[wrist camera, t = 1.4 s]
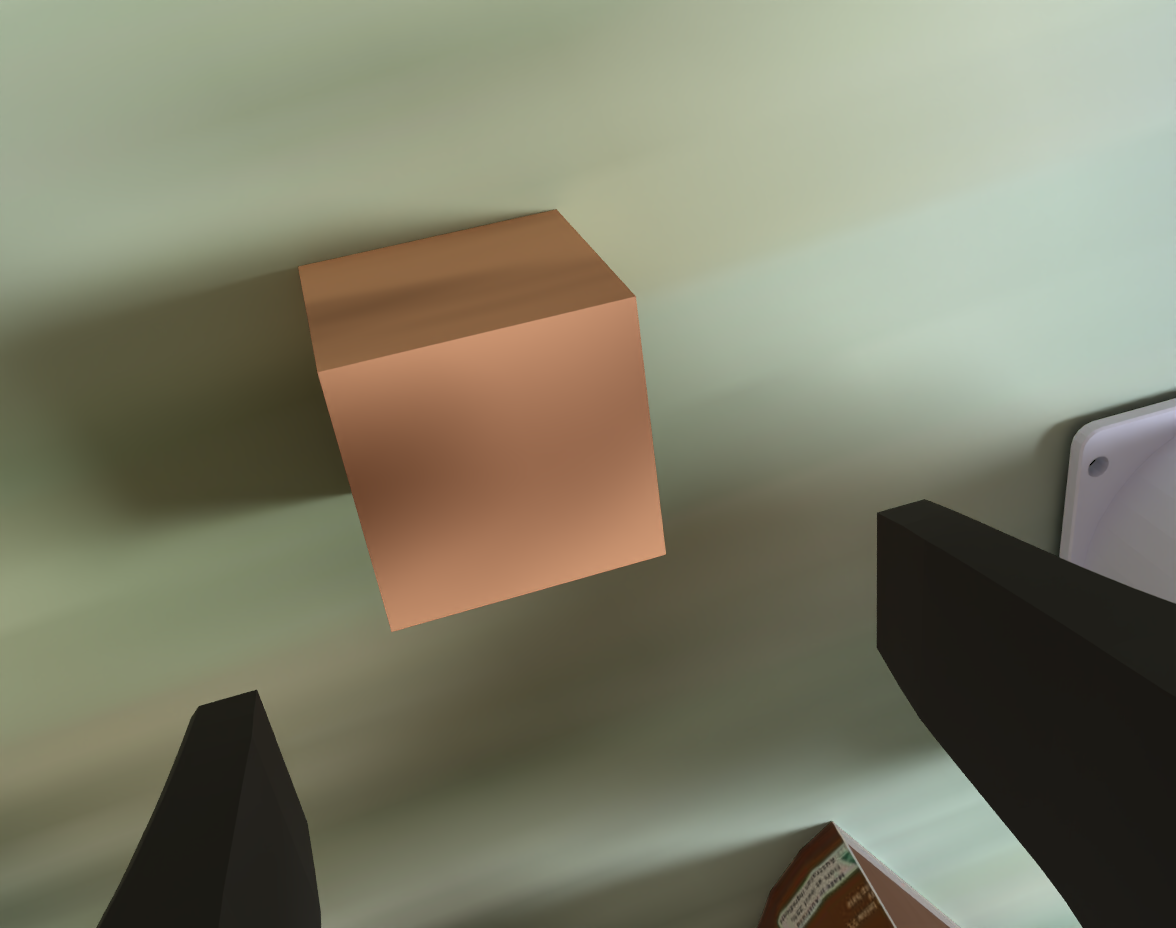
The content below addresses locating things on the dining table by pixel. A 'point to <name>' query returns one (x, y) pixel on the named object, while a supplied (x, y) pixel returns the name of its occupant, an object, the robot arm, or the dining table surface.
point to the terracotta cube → (487, 412)
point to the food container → (845, 890)
